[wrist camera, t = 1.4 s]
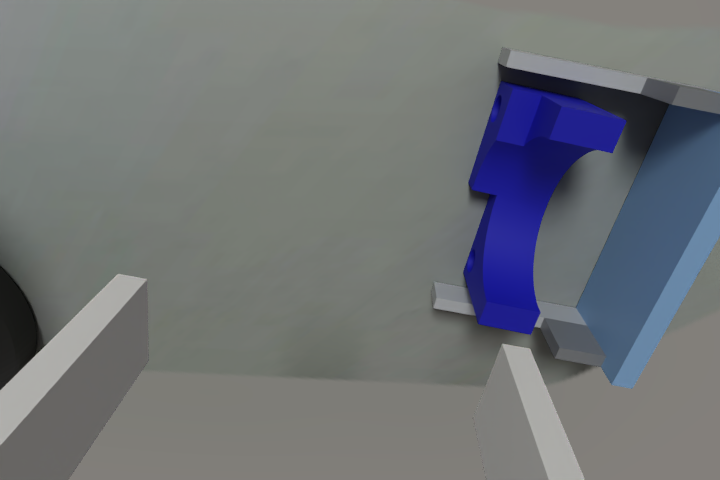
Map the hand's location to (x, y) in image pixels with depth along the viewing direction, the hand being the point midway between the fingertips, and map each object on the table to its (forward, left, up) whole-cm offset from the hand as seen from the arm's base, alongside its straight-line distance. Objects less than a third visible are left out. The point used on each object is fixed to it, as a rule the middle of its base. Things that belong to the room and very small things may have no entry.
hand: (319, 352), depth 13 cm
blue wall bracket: (+12, 0, -18) cm, 21 cm away
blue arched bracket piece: (+9, 0, -18) cm, 20 cm away
